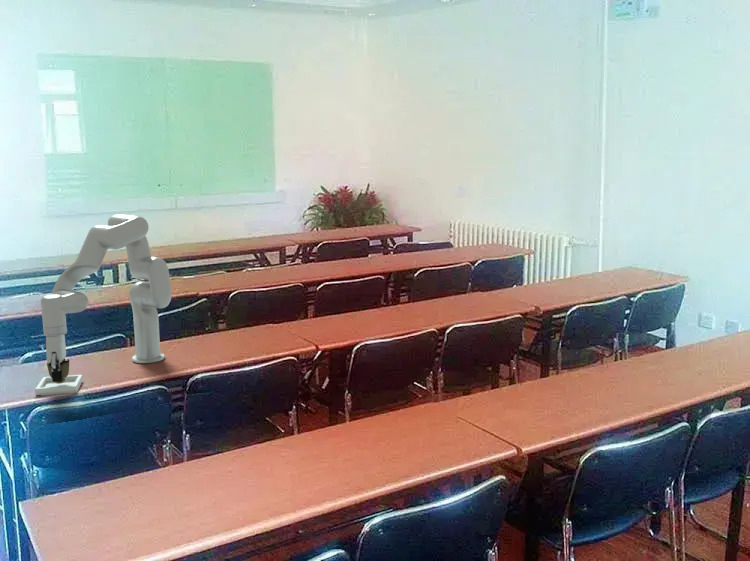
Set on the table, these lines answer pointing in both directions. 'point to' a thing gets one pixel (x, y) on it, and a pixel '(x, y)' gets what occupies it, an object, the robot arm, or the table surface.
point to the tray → (59, 385)
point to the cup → (63, 366)
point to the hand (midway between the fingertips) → (59, 377)
